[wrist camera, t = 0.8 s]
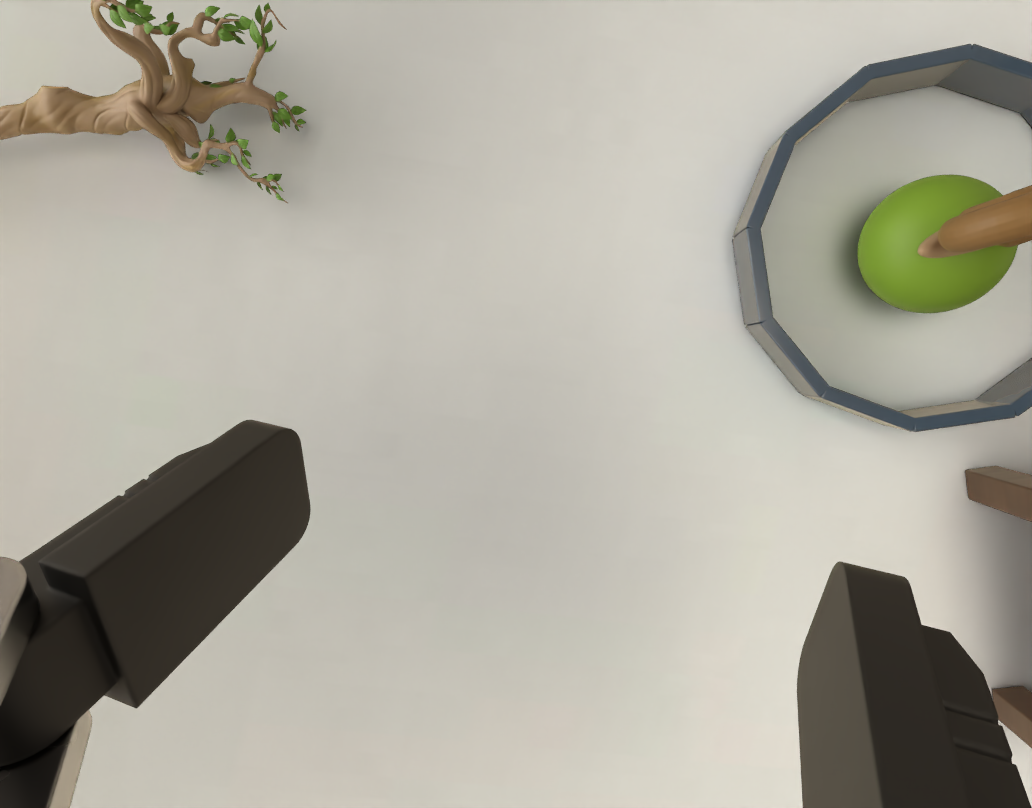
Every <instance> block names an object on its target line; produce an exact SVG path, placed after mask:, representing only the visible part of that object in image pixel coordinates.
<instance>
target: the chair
mask: <svg viewBox="0 0 1032 808" xmlns="http://www.w3.org/2000/svg"><path fill="white" fill-rule="evenodd" d="M965 473H966V481H967V490H968V498H969V499H970V500H973V501H976V502H978V503H981V504H984V505H987V506H989V507H992V508H995V509H998V510H1000V511H1003V512H1006V513H1009V514H1011V515H1014V516H1017V517H1020V518H1023V519H1025V520H1028V521H1031V522H1032V475H1030V474H1026V473H1022V472H1018V471H1014V470H1010V469H1007V468H1003V467H999V466H990V467H983V468H976V469H968V470H966V471H965ZM992 693H993V701H994V705H995V708H996V710H997V713H998V716H999V718H998V720H1000V721H1001V722H1002V723H1003V724H1004V725H1005V726H1007V727H1008V728H1009V729H1010V730H1011V731H1012V732H1014V733H1015V734H1016V735H1017V736H1018V737H1019V738H1021V739H1022V740H1023V741H1024V742H1025V743H1026V744H1028V745H1029V746H1030V747H1031V748H1032V692H1031V691H1029V690H1028V689H1026V688H1025V687H1023V686H1018V687H1008V688H999V689H992Z"/></svg>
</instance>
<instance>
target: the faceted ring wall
mask: <svg viewBox="0 0 1032 808" xmlns="http://www.w3.org/2000/svg"><path fill="white" fill-rule="evenodd" d="M932 85H938V86H941V87H944V88H947V89H950V90H953V91H956V92H959V93H962V94H965V95H968V96H971V97H974V98H977V99H980V100H983V101H986V102H989V103H992V104H995V105H998V106H1001V107H1004V108H1007V109H1010V110H1013V111H1016V112H1019V113H1021V115H1022V116H1023V117H1024V118H1025V119H1026V121H1027V122H1028V123H1029V124H1030V125H1031V127H1032V63H1031V62H1028V61H1025V60H1022V59H1019V58H1016V57H1013V56H1010V55H1007V54H1003V53H1000V52H997V51H994V50H991V49H988V48H985V47H982V46H979V45H976V44H973V45H971V44H967V45H962V46H957V47H952V48H947V49H942V50H937V51H933V52H928V53H923V54H918V55H913V56H908V57H903V58H898V59H893V60H889V61H884V62H879V63H874V64H869V65H867V66H864V67H863V68H862V69H861V70H859V71H858V72H857V73H856V74H854V75H853V76H852V77H851V78H850V79H848V80H847V81H846V82H845V83H844V84H842V85H841V86H840V87H839V88H838V89H836V90H835V91H834V92H833V93H832V94H830V95H829V96H828V97H827V98H825V99H824V100H823V101H822V102H821V103H819V104H818V105H817V106H816V107H815V108H813V109H812V110H811V111H810V112H809V113H807V114H806V115H805V116H804V117H803V118H801V119H800V120H799V121H798V122H796V123H795V124H794V125H793V126H792V127H790V128H789V129H788V130H787V131H786V132H785V133H784V134H783V135H782V136H781V137H780V138H779V139H778V140H777V141H776V142H775V144H774V145H773V146H772V147H771V148H770V149H769V150H768V152H767V153H766V155H765V157H764V160H763V162H762V165H761V167H760V169H759V172H758V174H757V177H756V179H755V182H754V184H753V187H752V189H751V192H750V194H749V197H748V199H747V202H746V204H745V207H744V209H743V212H742V214H741V217H740V219H739V222H738V224H737V227H736V229H735V232H734V234H733V239H732V242H733V249H734V256H735V263H736V270H737V277H738V284H739V291H740V298H741V305H742V312H743V319H744V324H745V325H746V329H747V330H748V331H749V332H750V333H751V335H752V336H753V337H754V338H755V340H756V341H757V342H758V343H759V345H760V346H761V347H762V348H763V349H764V351H765V352H766V353H767V354H768V356H769V357H770V358H771V359H772V360H773V362H774V363H775V364H776V365H777V367H778V368H779V369H780V370H781V371H782V373H783V374H784V375H785V376H786V378H787V379H788V380H789V381H790V382H791V384H792V385H793V386H794V387H795V389H796V390H797V391H798V392H799V393H801V394H802V395H803V396H806V397H809V398H811V399H814V400H817V401H819V402H822V403H825V404H827V405H830V406H833V407H836V408H838V409H841V410H844V411H846V412H849V413H852V414H854V415H857V416H860V417H862V418H865V419H868V420H870V421H873V422H876V423H879V424H881V425H884V426H889V427H893V428H898V429H902V430H907V431H914V432H918V431H925V430H932V429H939V428H946V427H953V426H960V425H967V424H974V423H981V422H988V421H995V420H1002V419H1009V418H1014V417H1015V416H1019V415H1021V414H1022V413H1023V412H1025V411H1026V410H1027V409H1029V408H1030V407H1032V358H1031V359H1030V360H1029V361H1027V362H1026V363H1025V364H1023V365H1022V366H1021V367H1019V368H1018V369H1016V370H1015V371H1014V372H1012V373H1011V374H1010V375H1008V376H1007V377H1006V378H1004V379H1003V380H1001V381H1000V382H999V383H997V384H996V385H995V386H993V387H992V388H990V389H989V390H988V391H986V392H985V393H984V394H982V395H981V396H980V397H978V398H977V399H975V400H971V401H964V402H957V403H951V404H944V405H937V406H930V407H923V408H917V409H910V410H903V411H896V410H893V409H890V408H888V407H885V406H882V405H880V404H877V403H874V402H871V401H869V400H866V399H863V398H861V397H858V396H855V395H853V394H850V393H847V392H844V391H842V390H839V389H836V388H834V387H831V386H829V385H828V384H827V383H826V381H825V380H824V379H823V378H822V376H821V375H820V374H819V373H818V372H817V370H816V369H815V368H814V367H813V365H812V364H811V363H810V362H809V361H808V359H807V358H806V357H805V356H804V354H803V353H802V352H801V351H800V349H799V348H798V347H797V346H796V345H795V343H794V342H793V341H792V340H791V338H790V337H789V336H788V335H787V334H786V332H785V331H784V330H783V329H782V327H781V326H780V325H779V324H778V323H777V321H776V320H775V319H774V318H773V313H772V306H771V299H770V292H769V285H768V277H767V270H766V263H765V256H764V249H763V242H762V234H761V227H762V224H763V222H764V219H765V217H766V214H767V212H768V209H769V207H770V205H771V202H772V200H773V197H774V195H775V192H776V190H777V187H778V185H779V182H780V180H781V178H782V175H783V173H784V170H785V168H786V165H787V163H788V160H789V158H790V155H791V153H792V150H793V148H794V146H795V145H796V144H797V143H799V142H800V141H801V140H802V139H804V138H805V137H806V136H807V135H808V134H810V133H811V132H812V131H813V130H814V129H816V128H817V127H818V126H819V125H821V124H822V123H823V122H824V121H825V120H827V119H828V118H829V117H830V116H832V115H833V114H834V113H835V112H836V111H838V110H839V109H840V108H841V107H842V106H844V105H845V104H846V103H847V102H852V101H857V100H862V99H867V98H872V97H877V96H882V95H887V94H892V93H897V92H902V91H907V90H912V89H917V88H922V87H927V86H932Z"/></svg>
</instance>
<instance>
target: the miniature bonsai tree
mask: <svg viewBox="0 0 1032 808" xmlns="http://www.w3.org/2000/svg"><path fill="white" fill-rule="evenodd" d="M108 2H110V3H112V5H111V6H109V5H107V4H106V3H108ZM143 2H144V1H141V0H127V1H126V6H125V5H124V4H122V3H120V2H118V1H116V0H91V11H92V15H93V17H94V19H95V21H96V23H97V25H98V26H99V28H100V29H101V31H102V32H103V33H104V34H105V35H106V36H107V38H108V39H109V40H110V41H111V42H112V43H113V44H115V45H116V46H117V47H119V48H120V49H121V50H123V51H124V52H126V53H127V54H129V55H130V56H132V57H133V58H135V59H136V60H137V61H138V63H139V64H140V66H141V69H142V77H141V80H138V81H135V82H133V83H130V84H128V85H125V86H124V87H123V88H121V89H120V90H119V91H118V92H116V93H114V94H111V95H107V96H101V97H93V96H88V95H85V94H82V93H79V92H77V91H74V90H72V89H70V88H68V87H53V86H42V87H41V88H40V89H39V91H38V93H37V94H35V95H34V96H32V97H31V98H29V99H27V100H26V101H25V102H24V103H21V104H15V105H5V106H2V107H0V140H2V139H7V138H11V137H15V136H19V135H21V134H36V133H59V134H73V133H77V132H92V133H99V134H103V133H106V134H113V135H122V134H124V133H127V132H129V131H138V130H141V129H146V130H147V131H149V132H150V133H152V134H153V135H155V136H156V137H158V138H160V139H161V140H162V141H163V142H164V144H165V145H166V147H167V149H168V151H169V153H170V155H171V157H172V159H173V160H174V162H175V163H176V164H177V165H178V166H179V167H181V168H182V169H184V170H186V171H189V172H196V173H197V174H199V175H203V174H202V173H200V172H198V171H199V170H200V169H201V168H202V167H203V166H204V163H207V164H210V165H211V166H213V167H220V166H217V165H214V164H212V163H214V162H216V161H218V160H220V161H221V162H222V163H226V162H227V161H228V160H229V158H230V157H229V156H226V155H222V154H219V155H218V159H216V158H217V157H216V156H213V155H211V154H208V151H209V149H210V148H218V149H223V150H225V151H227V152H228V153H229V154H230V155H231V162H232V164H233V165H237V167H238V168H239V169H240V171H241V172H242V173H243V174H244V175H245V176H246V177H247V178H248V179H249V180H251V181H253V182H257V185H258V186H259V187H260V188H261V189H262V187H261V184H260V183H262V184H264V185H266V190H267V192H268V193H270V190H269V188H270V189H272V190H273V191H274V192H275V194H276V197H277V199H278V200H282V201H285V200H284V199H282V198H281V197H280V195H279V194H278V193H277V192H276V191H275V190H274V189H278V188H279V190H281V191H283V190H282V188H281V187H280V185H279V184H278V183H277V181H279V180H280V178H281V175H282V174H274V175H273V174H269V175H268V176H265V177H263V178H252V177H251V176H254V175H258V174H256V173H254V174H252V175H250V176H249V175H248V174H247V173H246V172H245V171H244V170H243V169H242V167H241V166H240V164H239V163H238V160H237V158H236V156H235V155H234V154H233V153H232V151H231V150H230V146H232V145H237V146H238V147H239V149H240V153H241V161H242V164H243V165H244V166H245V167H246V168H249V169H251V168H250V166H249V165H251V164H250V163H249V162H248V160H247V159H246V158H245V156H244V154H245V155H247V156H250V157H252V156H251V154H250V152H249V151H247V150H244V151H243V150H242V148H243V149H246V147H247V145H248V141H249V140H245V139H238V140H235V138H236V136H235V133H234V132H233V130H232V129H231V128H230V130H229V131H228V133H227V135H226V138H225V140H226V141H227V142H226V143H220V141H219V140H217V139H215V138H213V139H210V138H211V137H212V136H213V135H214V129H213V127H212V125H211V124H210V133H209V137H208V139H207V140H205V141H204V142H201V141H200V138H199V135H198V132H197V129H196V126H195V125H194V123H193V122H192V121H191V120H189V119H188V118H187V117H189V116H190V117H191V118H192V119H194V120H195V121H196V122H198V123H204V122H205V121H206V120H207V119H208V118H209V117H210V115H211V114H212V112H213V111H215V110H217V109H219V108H221V107H223V106H225V105H228V104H232V103H240V102H243V103H248V104H255V105H260V106H262V107H265V108H266V109H267V110H268V112H269V115H270V118H271V121H272V128H273V129H274V130H275V131H276V132H278V133H280V127H279V124H280V125H281V126H282V127H283V124H284V122H285V123H286V124H287V125H288V126H289V127H290V120H292V121H293V122H294V123H295V128H296V130H298V131H299V129H298V126H299V127H302V126H300V125H301V124H304V123H306V122H305V121H304V120H302V119H298V120H297V121H296V120H295V118H294V117H293V114H294V115H299V114H301V113H303V112H305V111H306V110H305V109H303V108H302V107H299V106H294V107H292V109H291V110H290V108H289V107H288V106H287V105H286V104H285V103H284V102H282V101H281V100H283V99H285V98H286V97H288V96H287V95H286V94H285V93H283V92H280V91H279V92H277V93H276V95H275V97H274V96H272V95H271V94H269V93H267V92H265V91H263V90H261V89H259V88H257V87H255V86H254V85H253V79H254V77H255V75H256V68H257V66H258V64H259V63H260V61H261V59H262V57H263V55H264V53H265V52H270V51H271V50H272V49H273V48H274V46H275V44H276V41H275V43H274V44H273V45H271V46H270V47H268V42H267V38H266V37H265V33H268V32H270V31H271V30H272V27H273V25H272V21H271V20H270V21H269V22H268V24H267V25H266V26H265V27H264V24H265V21H266V17H267V14H268V13H269V12H272V13H273V14H274V12H273V11H272V10H271V9H270V6H269V4H268V3H267V4H266V5H265V6H264V11H265V15H264V17H262V13H261V9H260V5H259V6H258V7H257V9H256V12H255V18H256V20H257V21H258V23H259V24H260V25H261V35H260V33H259V31H258V29H257V28H258V27H256V25H255V22H254V21H253V19H252V21H251V20H250V19H248V18H246V17H244V16H242V17H241V18H240V19H226V18H225V17H228V16H238V15H236V14H232V13H229V14H226V15H225V16H224V18H217V19H213V18H212V17H210V16H212V15H213V14H215V13H216V12H217V11H218V10H219V9H220V8H219V7H215V6H209V7H207V8H206V10H205V13H203V12H201V13H199V14H198V15H197V16H196V17H195V19H194V23H193V26H192V27H190V28H185V29H183V30H181V31H179V32H177V33H176V34H174V33H175V32H176V30H177V27H178V24H180V23H177V22H173V19H174V15H173V12H172V13H170V14H168V15H167V20H168V22H164V23H163V24H160V25H159V26H152V25H151V23H150V24H149V22H148V21H151V20H153V19H155V18H156V17H154V16H152V14H149V13H150V11H151V9H152V7H151V6H148V5H144V4H143ZM100 6H104V7H106V8H108V9H109V10H110V18H111V20H112V21H113V23H115V24H116V25H118V26H120V27H123V28H126V27H125V25H124V23H123V21H122V19H123V20H125V21H128V22H133V23H134V24H136V25H135V27H134V28H133V35H134V36H132V35H130V34H128V33H126V32H123V31H120V30H116V29H114V28H112V27H111V26H110V25H109V24H108V23H107V22H106V21H105V20H104V18H103V17H102V15H101V13H100V11H99V8H100ZM135 13H138V14H139V15H140V16H141V17H140V16H138V15H137V14H135ZM119 15H120V16H119ZM274 16H275V18H276V19H277V21H278V23H279V24H280V25H281V26H282V27H283V28H284V29H286V28H285V27H284V26H283V25H282V24H281V22H280V21H279V20H278V18H277V17H276V15H275V14H274ZM120 17H121V18H122V19H121V18H120ZM238 17H239V16H238ZM205 20H208V21H210V22H212V23H214V24H216V27H215V28H214V31H213V33H212V34H203V33H202V31H201V30H202V27H203V23H204V21H205ZM218 21H219V22H218ZM230 21H234V23H235V25H236V26H234V25H232V24H223V23H227V22H228V23H229V22H230ZM143 24H144V25H143ZM239 29H241V30H247V29H250V30H249V31H250V36H251V38H252V39H253V40H254V41H255V42H256V43H257V49H258V51H257V53H256V56H255V59H254V62H253V64H252V66H251V68H250V71H249V73H248V76H247V79H246V81H245V82H240V83H235V82H238V81H240V80H243V79H245V78H239V79H235V78H230V80H229V81H223V82H218V83H213V84H211V83H212V82H208V81H203V82H199V81H198V80H196V79H195V78H193V77H192V73H193V69H194V66H195V64H194V62H193V60H192V59H189V58H185V57H183V56H182V55H181V53H180V52H179V50H178V44H179V43H180V42H182V41H183V40H184V39H185V38H187V37H192V38H196V39H198V40H200V41H202V42H204V43H205V44H208V45H210V46H214V47H215V46H219V45H220V39H221V40H222V41H232V40H235V41H236V42H238V43H240V44H245V43H244V42H243V41H242V40H241V38H240V37H238V36H236V34H235V32H239V33H242V34H244V33H243V32H242V31H241V30H239ZM286 30H287V29H286ZM234 31H235V32H234ZM150 33H152V34H164V35H166V36H167V35H173V34H174V35H173V36H172V37H171V38H170V39H169V41H168V55H169V59H170V62H171V66H172V75H170V73H169V68H168V64H167V61H166V58H165V56H164V54H163V53H162V51H161V50H160V49H159V47H158V46H157V45H156V44H155V43H154V41H153V40H152V38H151V36H150ZM233 36H234V37H233ZM233 83H234V84H233ZM277 102H279V103H281V104H282V105H284V106H285V107H286V109H287V110H288V111H287V110H286V109H284V108H281V109H279V107H278V106H277ZM272 109H275V110H277V112H278V113H276V112H273V111H272ZM274 120H275V121H277V122H278V123H279V124H278V123H276V122H275V121H274ZM283 121H284V122H283ZM284 126H285V124H284ZM285 128H286V126H285ZM302 128H303V127H302ZM286 129H287V128H286ZM299 132H300V131H299ZM234 140H235V141H234ZM184 141H185V142H186V143H187V144H189V145H190V146H192V147H194V148H201V149H200V152H198V153H194V154H193V155H192V158H188V157H187V156H186V151H185V142H184ZM243 153H244V154H243ZM195 158H196V159H195ZM248 164H249V165H248ZM202 171H204V170H202ZM207 172H208V171H207ZM270 181H273V182H275V183H276V184H277V185H278V188H277V187H276V186H271V185H270V183H269V182H270ZM268 187H269V188H268ZM273 188H274V189H273ZM262 190H263V189H262ZM270 194H271V193H270ZM271 195H272V194H271ZM285 202H286V201H285ZM286 203H288V202H286Z"/></svg>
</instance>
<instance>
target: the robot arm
mask: <svg viewBox="0 0 1032 808" xmlns="http://www.w3.org/2000/svg"><path fill="white" fill-rule="evenodd" d="M309 518H310V500H309V493H308V487H307V480H306V474H305V467H304V460H303V454H302V447H301V442H300V438H299V436H298V434H297V433H296V432H295V431H294V430H292V429H288V428H284V427H280V426H276V425H272V424H267V423H263V422H259V421H255V420H246V421H243V422H241V423H239V424H238V425H236V426H235V427H233V428H232V429H230V430H229V431H227V432H226V433H224V434H223V435H222V436H220V437H219V438H217V439H216V440H214V441H213V442H211V443H209V444H207V445H204V446H202V447H199V448H197V449H194V450H192V451H189V452H187V453H184V454H181V455H179V456H177V457H175V458H174V459H172V460H171V461H169V462H168V463H166V464H165V465H163V466H162V467H160V468H159V469H157V470H156V471H154V472H153V473H151V474H150V475H149V478H148V479H147V480H145V479H142V480H141V481H139V482H138V483H136V484H135V485H133V486H132V487H130V488H129V489H127V490H126V491H125V494H124V496H117V497H116V498H114V499H113V500H111V501H110V502H108V503H107V504H105V505H104V506H102V507H101V508H99V509H98V510H96V511H95V512H93V513H92V514H90V515H89V516H87V517H86V518H84V519H83V520H81V521H80V522H78V523H77V524H75V525H74V526H72V527H71V528H69V529H68V530H66V531H65V532H63V533H62V534H60V535H59V536H57V537H56V538H54V539H53V540H51V541H50V542H48V543H47V544H45V545H44V546H42V547H41V548H39V549H38V550H36V551H35V552H33V553H32V554H30V555H29V556H27V557H26V558H24V559H22V560H21V561H19V562H17V561H16V560H13V559H10V558H6V557H0V808H70V805H71V802H72V798H73V794H74V791H75V787H76V783H77V780H78V776H79V772H80V769H81V765H82V761H83V758H84V754H85V750H86V747H87V743H88V739H89V736H90V732H91V727H92V716H91V714H90V711H89V709H90V708H91V707H92V706H93V705H94V704H95V703H96V702H97V701H98V700H99V699H100V698H101V697H102V696H104V695H105V696H108V697H110V698H112V699H115V700H117V701H120V702H122V703H125V704H127V705H130V706H132V707H134V708H138V707H139V706H140V705H141V703H142V702H143V701H144V700H145V699H146V698H147V697H148V696H149V695H150V694H151V693H152V692H153V691H154V690H155V689H156V688H157V687H158V686H159V685H160V684H161V683H162V682H163V681H164V680H165V679H166V678H167V677H168V676H169V675H170V674H171V673H172V672H173V671H174V670H175V669H176V668H177V667H178V665H179V664H180V663H181V662H182V661H183V660H184V659H185V658H186V657H187V656H188V655H189V654H190V653H191V652H192V651H193V650H194V649H195V648H196V647H197V646H198V645H199V644H200V643H201V642H202V641H203V640H204V639H205V638H206V637H207V636H208V635H209V634H210V633H211V632H212V631H213V630H214V629H215V627H216V626H217V625H218V624H219V623H220V622H221V621H222V620H223V619H224V618H225V617H226V616H227V615H228V614H229V613H230V612H231V611H232V610H233V609H234V608H235V607H236V606H237V605H238V604H239V603H240V602H241V601H242V600H243V599H244V598H245V597H246V596H247V595H248V594H249V593H250V592H251V591H252V589H253V588H254V587H255V586H256V585H257V584H258V583H259V582H260V581H261V580H262V579H263V578H264V577H265V576H266V575H267V574H268V573H269V572H270V571H271V570H272V569H273V568H274V567H275V566H276V565H277V564H278V563H279V562H280V561H281V560H282V559H283V558H284V557H285V556H286V555H287V554H288V553H289V551H290V550H291V549H292V548H293V547H294V546H295V545H296V544H297V543H298V542H299V541H300V539H301V538H302V536H303V534H304V532H305V530H306V528H307V525H308V522H309ZM797 702H798V721H799V740H800V760H801V779H802V799H803V808H1031V805H1030V802H1029V800H1028V797H1027V794H1026V791H1025V788H1024V786H1023V783H1022V780H1021V777H1020V775H1019V772H1018V769H1017V766H1016V765H1014V764H1012V761H1011V758H1012V752H1011V749H1010V747H1009V744H1008V741H1007V738H1006V735H1005V733H1004V730H1003V727H1002V726H1000V725H998V718H999V716H998V713H997V710H996V708H995V705H994V702H993V699H992V696H991V694H990V691H989V688H988V685H987V682H986V680H985V677H984V674H983V673H982V671H981V670H980V669H979V668H978V666H977V665H976V664H975V663H974V661H973V660H972V659H971V658H970V656H969V655H968V654H967V653H966V651H965V650H964V649H963V648H962V646H961V645H960V644H959V643H958V641H957V640H956V639H955V638H954V636H953V635H952V634H951V633H950V632H947V631H943V630H939V629H935V628H931V627H928V626H924V625H921V622H920V618H919V615H918V611H917V607H916V604H915V600H914V597H913V593H912V590H911V586H910V584H909V582H908V580H907V579H906V578H905V577H902V576H898V575H894V574H890V573H886V572H881V571H877V570H873V569H869V568H865V567H861V566H856V565H852V564H848V563H844V562H838V563H836V564H835V566H834V567H833V569H832V571H831V574H830V576H829V579H828V581H827V584H826V587H825V589H824V592H823V595H822V597H821V600H820V603H819V605H818V608H817V610H816V613H815V616H814V618H813V621H812V624H811V626H810V629H809V632H808V634H807V637H806V640H805V642H804V645H803V649H802V653H801V657H800V663H799V669H798V679H797Z"/></svg>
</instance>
